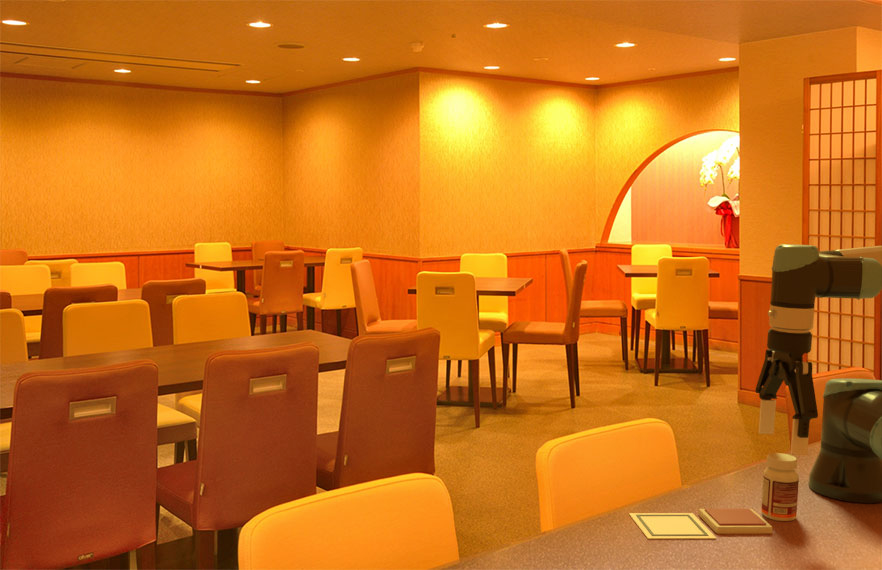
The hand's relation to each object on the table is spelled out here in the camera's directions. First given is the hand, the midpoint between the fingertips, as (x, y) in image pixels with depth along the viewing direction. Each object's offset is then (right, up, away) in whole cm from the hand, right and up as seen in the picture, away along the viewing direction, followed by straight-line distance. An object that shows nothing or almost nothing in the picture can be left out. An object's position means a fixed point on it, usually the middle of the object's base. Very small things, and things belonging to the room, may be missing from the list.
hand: (781, 443), depth 166 cm
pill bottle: (0, -14, +1) cm, 14 cm away
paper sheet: (-22, -14, -5) cm, 26 cm away
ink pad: (-10, -14, -3) cm, 17 cm away
